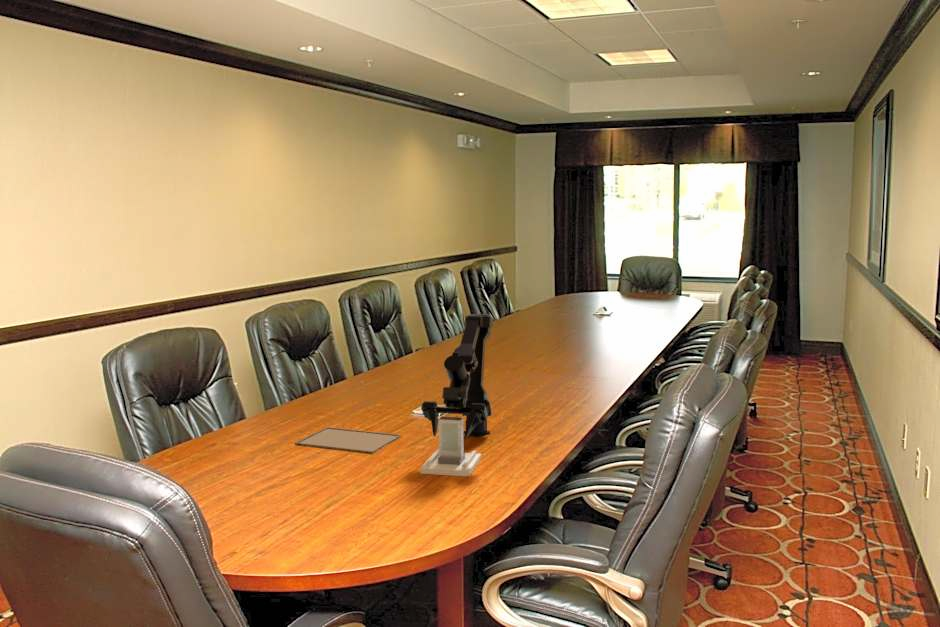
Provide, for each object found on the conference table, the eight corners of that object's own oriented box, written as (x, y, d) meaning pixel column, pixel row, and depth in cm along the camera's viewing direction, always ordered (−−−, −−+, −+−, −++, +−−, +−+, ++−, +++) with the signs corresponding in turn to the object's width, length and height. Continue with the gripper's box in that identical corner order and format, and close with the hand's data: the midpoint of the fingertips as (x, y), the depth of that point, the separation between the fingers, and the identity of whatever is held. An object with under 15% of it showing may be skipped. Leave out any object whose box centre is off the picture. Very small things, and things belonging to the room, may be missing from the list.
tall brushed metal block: (443, 457, 243) (442, 415, 241) (464, 458, 242) (464, 416, 240) (437, 463, 237) (437, 420, 236) (460, 464, 236) (459, 421, 234)
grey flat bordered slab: (401, 437, 270) (327, 430, 280) (401, 434, 270) (327, 427, 280) (373, 454, 252) (294, 445, 263) (373, 451, 252) (294, 442, 263)
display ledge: (435, 456, 249) (435, 447, 249) (481, 458, 246) (481, 449, 246) (420, 473, 234) (420, 464, 233) (469, 476, 230) (468, 467, 230)
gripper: (422, 374, 242) (412, 421, 233) (485, 376, 238) (477, 424, 229) (430, 394, 251) (420, 440, 242) (490, 396, 247) (483, 443, 237)
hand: (449, 436), depth 237 cm, fingers open, 9 cm apart
